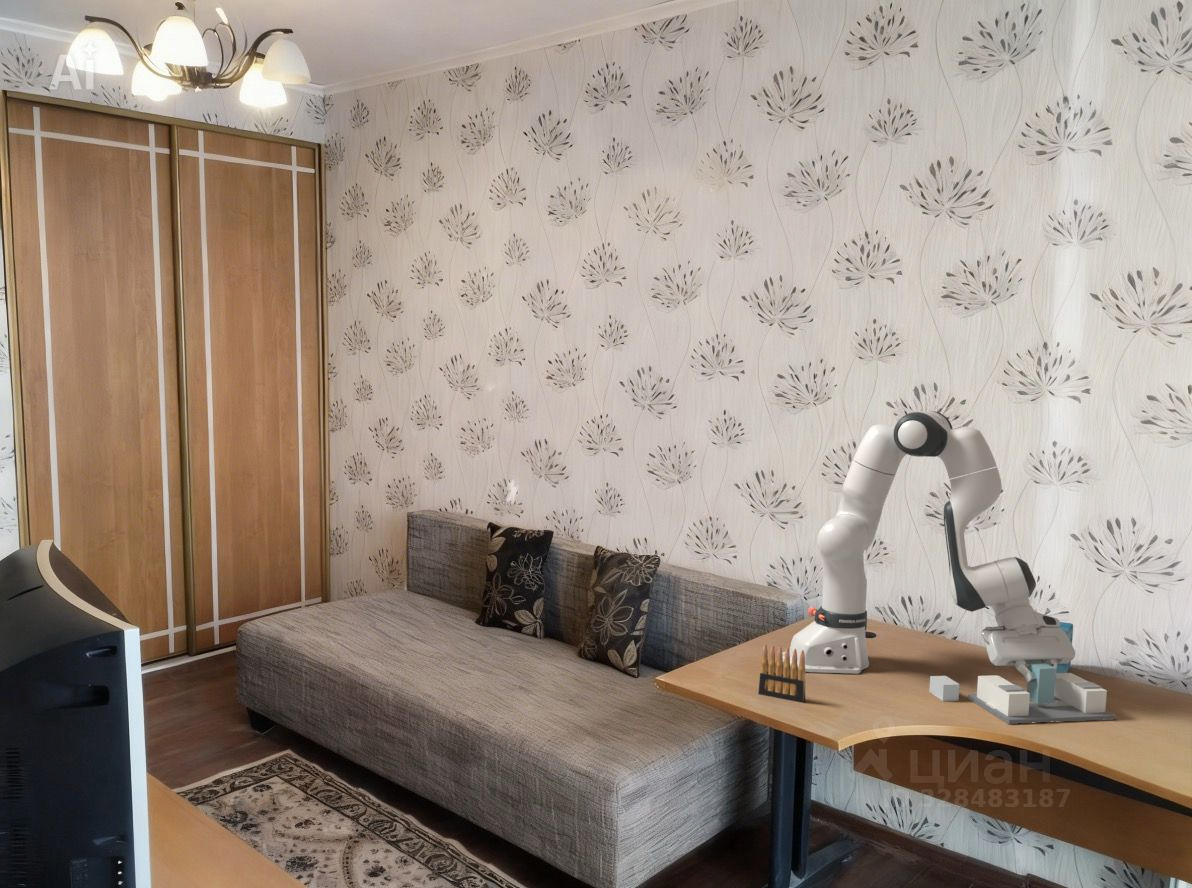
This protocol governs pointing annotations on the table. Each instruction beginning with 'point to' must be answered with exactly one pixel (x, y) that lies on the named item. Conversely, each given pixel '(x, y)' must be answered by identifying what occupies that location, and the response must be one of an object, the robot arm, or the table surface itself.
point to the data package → (1069, 632)
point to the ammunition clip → (782, 675)
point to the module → (1042, 683)
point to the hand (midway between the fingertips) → (1043, 680)
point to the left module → (1003, 695)
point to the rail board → (1045, 712)
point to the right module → (1080, 693)
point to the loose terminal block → (944, 688)
